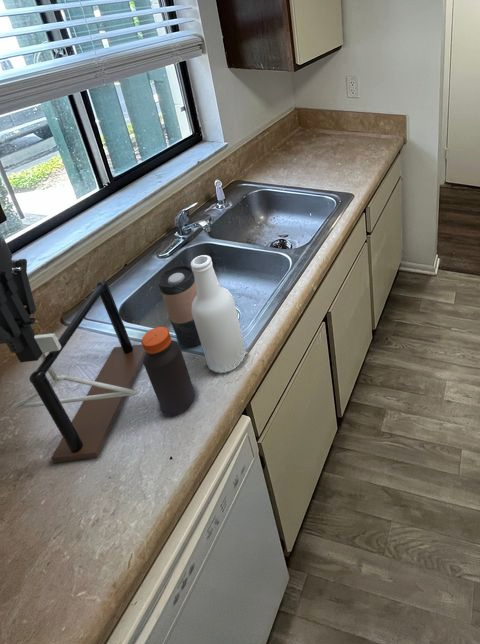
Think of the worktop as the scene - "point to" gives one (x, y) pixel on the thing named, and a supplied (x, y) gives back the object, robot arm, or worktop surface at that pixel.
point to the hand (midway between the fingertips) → (31, 357)
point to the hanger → (68, 378)
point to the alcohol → (216, 319)
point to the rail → (98, 414)
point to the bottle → (167, 371)
